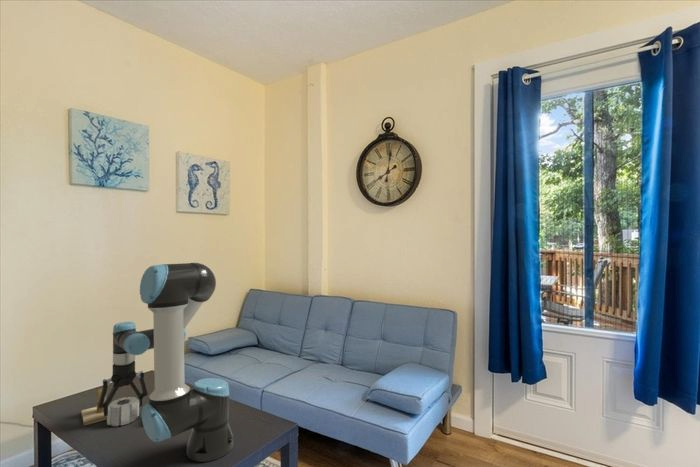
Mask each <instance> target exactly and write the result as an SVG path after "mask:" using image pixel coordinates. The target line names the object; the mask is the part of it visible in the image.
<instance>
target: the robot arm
mask: <svg viewBox="0 0 700 467" xmlns="http://www.w3.org/2000/svg"><path fill="white" fill-rule="evenodd" d="M216 287H217V280H216V276H215V274H214V273H213V271H212V270H211V268H210V267H208V266H206V265H205V264H203V263H199V262H187V263H168V264H167V263H163V264H156V265H155V264H154V265H151V266H149V267H148V268H146V269H145V271H144V272H143V274H142V276H141V279H140V285H139V295H140V300H141V302H142V303H143V304H146V305H147V310H149V311H151V312H152V313H153V318H152V319H153V328H150V329H145V330H139V331H136V330H137V326H136V323H135V322H134V321H122V322H118V323H115V324H114V325H113V328H112V363H113V364H112V375H111V377H110V378H107V379H106V378H105V379H103V380H102V387H101V388H102V391H101V395H100V399H99V402H98V407H99V408H104V416H107V419H106V425H107V426H111V425H110V405H109V404H110V403H111V402H112V400H113V398H114V396H115V395H116V392H117V391H118V390H119V388H121V387H124V386H126V387H127V386H129V385H130V387H131V388H132V390H133V392H135V394H136V396H137V397H136V398H137V417H140V415H141V421H142V426H143V428H144V431H145V433H146V435H147V437H148V438H149V439H150V440H151V441H152V442H154V443H159V442H162V441H165V440H167V439H168V440H170V439H171V438H173V437H175V436H177V435H180V434H182V433H184V432H187V431H189V430H191V429H192V430H191V433H190V435H189V438H188V441H187V444H186V456H187V458H188V459H190V460H191V461H194V462H199V463H200V462H201V463H202V462H203V463H205V462H211V461H215V460H218V459H220V458H222V457H224V456H226V455H227V454H228V453H230V452H231V450H232V449H233V447H234V435H233V432H232V429H231V425H230V422H229V421H230V420H229V413H230V412H229V411H230V409H229V408H230V404H229V403H230V395H231V393H230V388H229V386H230V385H229V383H228V382H227V381H226V380H224V379H223V378H222V379H221V378H215V377H210V378H209V377H208V378H202V379H198V380H196V381H195V382H193V385H192V388H190V386H189V385H187V384H186V382H185V380H186V379H185V374H186V373H185V339H186V335H187V331H186V328H187V326H188V325H189V323H190V322H191V320H192V319H193V317H194V316H195V315H196V314H197V312H198V311H199V309H200V308H201V307H202V305H203V304H204V303H205V302H208V301H209V300H210V299H211V297H212V295H213V294H214V292H215V290H216ZM152 349H153V371H154V372H153V373H154V377H153V378H154V380H153V381H154V389H153V390H152V391H151V393H150V394H149V395H148V391H147V386H146V383H145V378H144V377H145V372H144V371H143V370H141V371H138V372H136V361H135V360H136V356H140V355H143V354H144V353H146V352H147V351H148V350H152ZM136 377H137V378H138V381H139V383H140V387H141V390H142V392H140V390H139V389H138V387H137V386H136V385H135V383H134V382H133V381H134V380H135V378H136ZM111 382H112V383H113V385H112V388H111V390H110V392H109V394H108V396H107V392H108V391H107V390H108V387H109V385H110V384H111ZM105 395H106V401H105V403H103V402H104V399H105ZM147 396H148V403H145V405H144V406H143V399H144V397H147ZM140 407H141V414H140Z"/></svg>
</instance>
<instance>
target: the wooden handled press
mask: <svg viewBox="0 0 700 467" xmlns="http://www.w3.org/2000/svg"><path fill="white" fill-rule="evenodd" d="M102 388H103V387H100V388H98V389H97V390H96V406H94V407H89V408H86V409H82V410H81V413H80V414H81V417H82V423H83V426H84V427H85V426H88V425H91V424H95V423H98V422H102V421H105V420H106V421H107V416H104V408H99V407H98V402H99V399H100V395H101V391H102ZM106 399H107V394H106V395H105V399H104V402H103V403H105V401H106Z"/></svg>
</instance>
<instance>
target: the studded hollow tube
mask: <svg viewBox="0 0 700 467" xmlns="http://www.w3.org/2000/svg"><path fill="white" fill-rule="evenodd" d="M137 398H138V397H135V396H127V397H126V396H124V397H121V398H120V397H119V398H117V399H115V400H113V401H111V402H110V404H109V405H110V425H109V426H111V427H119V426H125V425H129V424H130V423H133V422H134V421H135V420H137V418H138V416H137Z"/></svg>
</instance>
